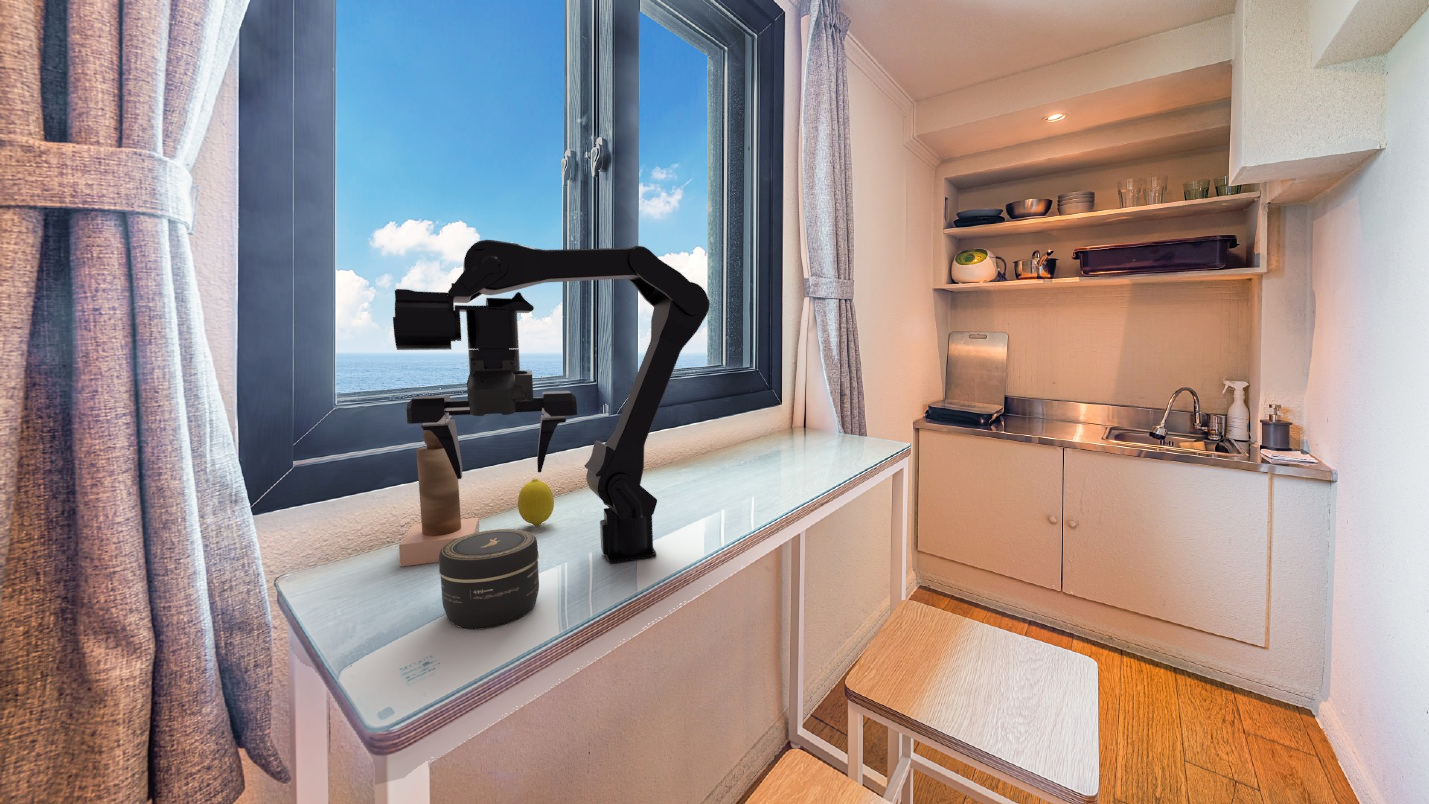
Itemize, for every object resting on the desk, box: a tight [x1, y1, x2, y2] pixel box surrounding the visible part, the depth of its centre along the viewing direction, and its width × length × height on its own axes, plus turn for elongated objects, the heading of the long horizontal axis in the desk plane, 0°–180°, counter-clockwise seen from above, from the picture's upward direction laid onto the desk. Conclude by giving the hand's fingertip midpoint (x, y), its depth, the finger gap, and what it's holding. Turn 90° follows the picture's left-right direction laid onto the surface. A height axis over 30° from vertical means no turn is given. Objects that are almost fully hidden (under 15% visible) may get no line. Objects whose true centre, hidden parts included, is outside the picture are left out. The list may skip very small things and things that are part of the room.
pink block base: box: [398, 517, 480, 568], centre depth 76 cm, size 9×9×3 cm
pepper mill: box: [416, 430, 462, 536], centre depth 75 cm, size 5×5×15 cm
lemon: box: [517, 478, 555, 528], centre depth 86 cm, size 6×6×8 cm
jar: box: [438, 528, 540, 630], centre depth 58 cm, size 10×10×8 cm
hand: (500, 475), depth 66 cm, fingers open, 9 cm apart
